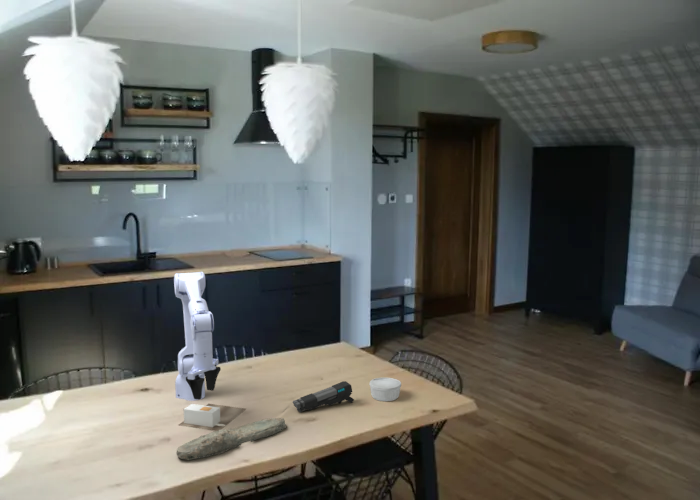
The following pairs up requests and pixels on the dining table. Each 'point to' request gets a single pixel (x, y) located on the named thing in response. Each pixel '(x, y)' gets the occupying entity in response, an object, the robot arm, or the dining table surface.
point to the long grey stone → (229, 438)
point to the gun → (325, 397)
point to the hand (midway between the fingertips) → (204, 394)
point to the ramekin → (385, 389)
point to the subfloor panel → (225, 417)
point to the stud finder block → (202, 415)
